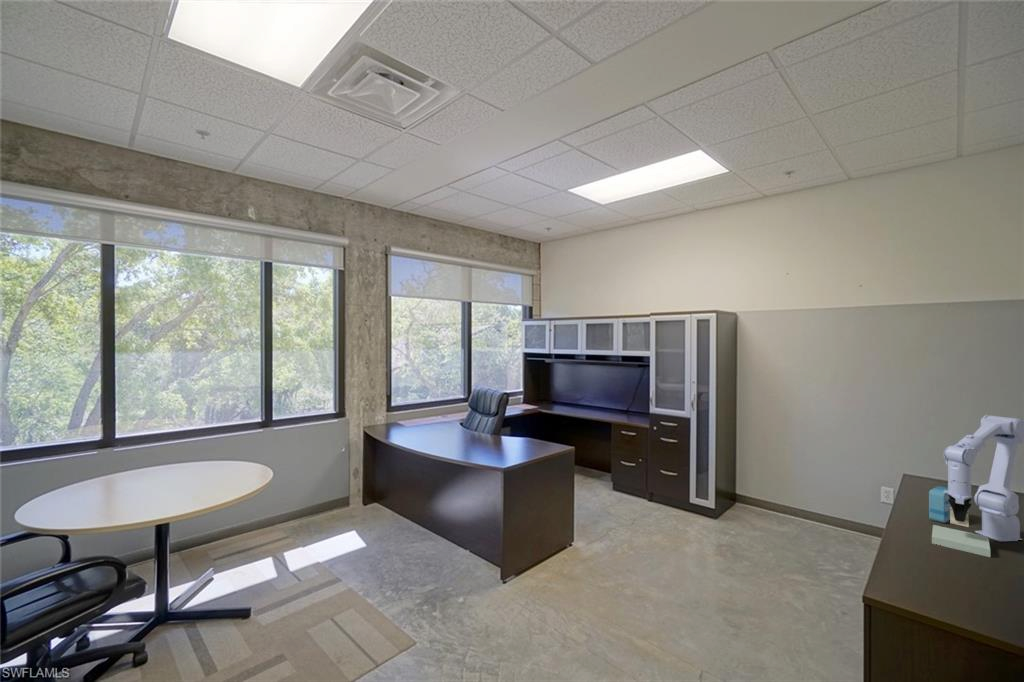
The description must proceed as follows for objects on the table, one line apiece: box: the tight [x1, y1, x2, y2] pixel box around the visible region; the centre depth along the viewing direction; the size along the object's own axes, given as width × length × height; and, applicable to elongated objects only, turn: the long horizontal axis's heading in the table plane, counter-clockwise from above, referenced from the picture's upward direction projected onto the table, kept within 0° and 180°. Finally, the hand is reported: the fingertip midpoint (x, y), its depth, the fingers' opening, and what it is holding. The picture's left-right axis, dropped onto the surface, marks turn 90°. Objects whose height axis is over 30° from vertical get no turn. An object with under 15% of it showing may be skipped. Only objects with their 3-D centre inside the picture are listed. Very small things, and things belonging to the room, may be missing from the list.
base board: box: [931, 524, 991, 558], centre depth 154 cm, size 14×14×2 cm
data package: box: [928, 486, 951, 524], centre depth 175 cm, size 12×4×12 cm, turn 121°
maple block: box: [949, 507, 970, 528], centre depth 154 cm, size 4×4×4 cm
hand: (959, 519), depth 154 cm, fingers closed on maple block, 4 cm apart
